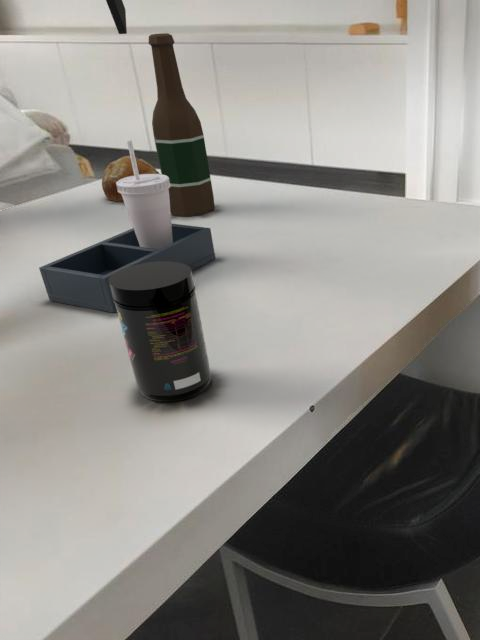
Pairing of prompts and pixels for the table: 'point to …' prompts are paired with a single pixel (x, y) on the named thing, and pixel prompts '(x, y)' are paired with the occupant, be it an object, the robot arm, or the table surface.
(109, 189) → the bread roll
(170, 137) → the beer bottle
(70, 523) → the table surface
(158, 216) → the smoothie
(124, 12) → the robot arm
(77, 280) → the compartment tray
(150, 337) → the supplement container
